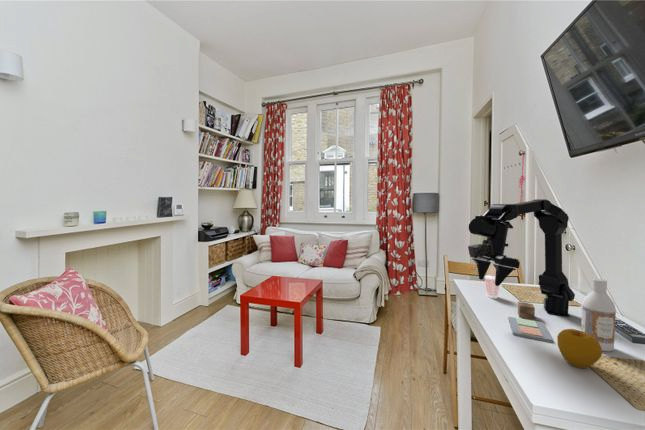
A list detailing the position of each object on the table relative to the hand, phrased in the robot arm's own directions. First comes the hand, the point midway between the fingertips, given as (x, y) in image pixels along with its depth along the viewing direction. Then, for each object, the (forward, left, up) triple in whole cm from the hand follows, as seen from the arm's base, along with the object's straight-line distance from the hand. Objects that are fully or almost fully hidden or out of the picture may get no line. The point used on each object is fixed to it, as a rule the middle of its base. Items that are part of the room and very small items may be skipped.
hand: (488, 282), depth 96 cm
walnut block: (-13, -14, -15) cm, 24 cm away
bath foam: (-28, +2, -15) cm, 32 cm away
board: (-12, -1, -15) cm, 19 cm away
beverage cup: (-3, -33, -15) cm, 36 cm away
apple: (-20, +17, -15) cm, 30 cm away
